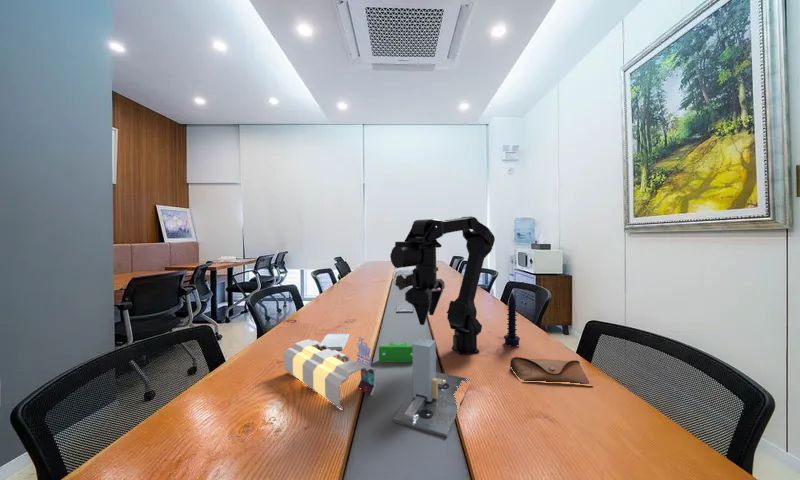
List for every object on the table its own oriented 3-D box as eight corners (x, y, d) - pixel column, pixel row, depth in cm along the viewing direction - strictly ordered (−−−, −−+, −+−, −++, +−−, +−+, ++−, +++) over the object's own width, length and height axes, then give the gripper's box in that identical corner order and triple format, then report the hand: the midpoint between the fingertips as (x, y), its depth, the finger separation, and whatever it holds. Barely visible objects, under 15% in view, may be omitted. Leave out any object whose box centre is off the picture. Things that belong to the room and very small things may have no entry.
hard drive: (342, 347, 94) (349, 333, 106) (316, 347, 94) (326, 333, 106) (342, 352, 94) (349, 337, 106) (316, 352, 94) (326, 338, 106)
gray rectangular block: (418, 388, 69) (418, 337, 68) (440, 393, 67) (439, 341, 66) (412, 397, 65) (411, 343, 65) (434, 402, 63) (434, 347, 63)
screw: (516, 341, 100) (522, 347, 95) (501, 341, 100) (506, 347, 95) (516, 289, 100) (522, 292, 95) (501, 289, 100) (507, 292, 95)
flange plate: (429, 372, 78) (429, 365, 78) (471, 381, 74) (471, 374, 74) (393, 421, 58) (392, 412, 58) (446, 437, 54) (446, 427, 54)
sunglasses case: (518, 383, 72) (514, 354, 76) (512, 384, 79) (508, 358, 82) (596, 387, 70) (589, 357, 74) (583, 388, 76) (577, 361, 80)
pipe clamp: (416, 357, 89) (416, 342, 89) (417, 362, 85) (417, 347, 85) (379, 356, 89) (379, 341, 89) (378, 362, 85) (378, 346, 85)
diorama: (375, 395, 68) (375, 339, 68) (338, 415, 61) (337, 353, 61) (318, 362, 86) (317, 318, 85) (284, 375, 78) (283, 326, 78)
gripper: (410, 260, 93) (411, 308, 94) (385, 268, 76) (387, 327, 77) (444, 260, 89) (445, 311, 90) (427, 269, 72) (428, 332, 73)
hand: (427, 319), depth 82 cm, fingers open, 9 cm apart
